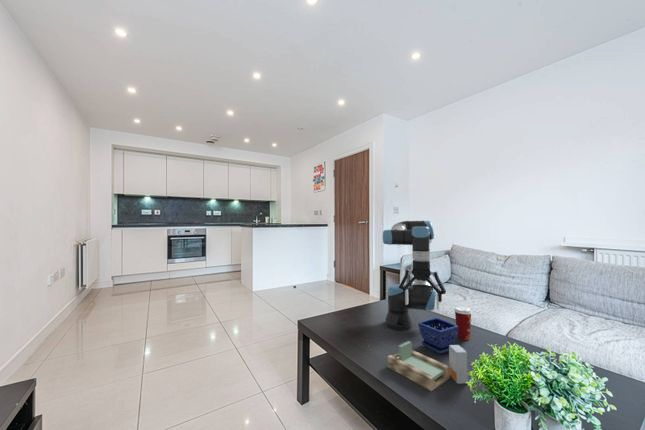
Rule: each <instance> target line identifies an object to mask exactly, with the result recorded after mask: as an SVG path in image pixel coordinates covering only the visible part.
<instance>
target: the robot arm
mask: <svg viewBox="0 0 645 430" xmlns="http://www.w3.org/2000/svg"><path fill="white" fill-rule="evenodd" d="M434 238H435V233H434V228H433V224H432V222H431V221H430V220H403V221H400V222H397V223H395V224H393V225H392V227H391V229H383V231H382V243H383V244H384V245H389V246H391V245H395V246H396V245H400V246H401V245H402V246H404V245H405V246H412V247H411V248H412V255H411V256H412V269H410V268H406V269H405V273H404V276H403V278H402V280H401V282H400V283H399V284H391V285H390V286H388V288H387V314H386V317H385V326H386V327H387V326H388V327H387V328H389V327H390V328H389V329H392V330H395V331H407V330H410V329H411V328H412V326H413V322H412V319H411V317H410V311H409V310H416V311H417V310H419V311H426V312H427V311H434V309H435V308H436V310H437V311H439V310H440V303H441V302H442V301H443V299H442V298H443V295H445V294H446V293H447V290H446V288H445V286H444V285H443V282H442V281H441V279H440V277H439V272H438V271H437V270H436V271H431V262H430V259H431V256H430V255H431V253H430V252H431V251H430V244H431V243H432V240H434ZM411 274H412V275H413V277H412V278H411V279H410V280H409V281H408V282H407V283H406V281H407V279H408V277H409V276H410V275H411ZM431 276H432V277H434V279H435V282H436V283H437V285H436V283H435V282H434V281H433V280H432V277H431ZM413 282H414V283H413ZM405 283H406V284H405ZM410 286H411V287H410ZM435 305H436V307H435Z"/></svg>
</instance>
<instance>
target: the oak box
mask: <svg viewBox="0 0 645 430" xmlns="http://www.w3.org/2000/svg"><path fill="white" fill-rule="evenodd" d="M398 356H399V352H397V353H394V354H393V355H392V354H389V355H387V367H388V369H390V370H392V371H395V373H398V374H400V375H402V376H404V377H405V378H406V379H409V380H410V381H412V382H415V383H416V384H417V385H419V386H421V387H423V388H425V389H427V390H429V391H430V392H432V391H434V390H435V389H437V388H438V387H440V386H441V385H442V384H443V383H445V382H446V381H448V380H449V379H450V377H451V375H450V365H447V364H445V363H443V362H440V361H439V360H437V359H434V358H431V357H429V356H427V355H424V354H423V353H421V352H418V351H416V350H414V349H412V356H415V357H417V358H419V359H421V360H423V361H425V362H428V363H430V364H432V365H434V366H436V367H438V368H440V369H443V370H444V374H442V375H441V376H439V377H438V378H437V379H435V380H434V376H432V375H430V374H428V373H426V372H424V371H422V370H420V369H418V368H416V367H414V366H412V365H410V364H408V363H406V362H404V361H402V360H400V359H398V358H396V357H398Z"/></svg>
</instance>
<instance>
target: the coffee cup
mask: <svg viewBox="0 0 645 430" xmlns="http://www.w3.org/2000/svg"><path fill="white" fill-rule="evenodd" d="M453 311H454V315H455V325H457V326H458V334H457V338H459V339H460V340H464V341H469V340H471V327H472V326H471V325H472V314H473V313H472V310H471V308H469V307H465V306H455V308H454V310H453Z"/></svg>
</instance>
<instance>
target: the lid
mask: <svg viewBox="0 0 645 430" xmlns="http://www.w3.org/2000/svg"><path fill="white" fill-rule="evenodd" d="M412 350H413V342H412V341H410V340H407V341H405V342H403V343H401V344H399V345H398V353H399V356H398V357H396V358H398V359H400V360H402V361H404V362H406V363H408V364H410V365H412V366H414V367H416V368H418V369H420V370H422V371H424V372H426V373H428V374H430V375H432V376H434V380H435V379H437V378H438V377H439V376H441V375H442V374H444V370H443V369H440V368H438V367H436V366H434V365H432V364H430V363H428V362H425V361H423V360H421V359H419V358H417V357H415V356H412Z"/></svg>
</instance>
